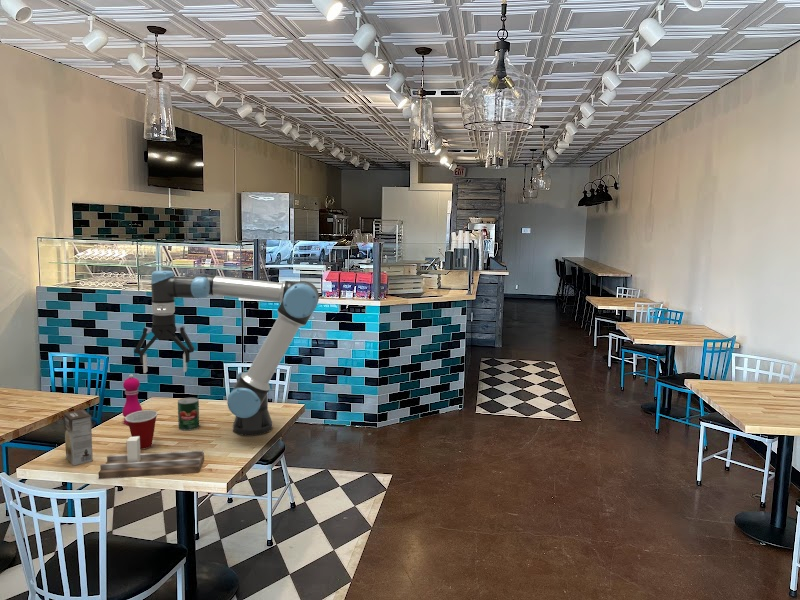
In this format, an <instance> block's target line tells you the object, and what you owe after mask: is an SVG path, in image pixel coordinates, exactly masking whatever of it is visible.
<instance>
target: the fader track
mask: <svg viewBox="0 0 800 600" xmlns="http://www.w3.org/2000/svg"><path fill="white" fill-rule="evenodd" d="M204 453H205V452H204V450H189V451H171V452H170V451H169V452H153V453H150V452H149V453H140V458H141V460H140V461H139V462H130V463H128V462H127V454H115V455H114V454H113V455H107V457H106V462H105V463H101V464H100V465H99V467H100V470H99V472H98V479H100V480H101V479H111V478H112V479H113V478H130V477H132V478H134V477H147V476H160V475H162V476H163V475H179V474H180V475H181V474H194V473H200V470H201V468H202V465H203V462H204V459H205V454H204Z"/></svg>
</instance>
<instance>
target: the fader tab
mask: <svg viewBox="0 0 800 600" xmlns="http://www.w3.org/2000/svg"><path fill="white" fill-rule="evenodd" d="M140 454H141V449H140V436H136V437H132V436H130V437H128V438H127V440H126V455H127V462H128V463H130V462H139V461H140V460H141V458H140Z"/></svg>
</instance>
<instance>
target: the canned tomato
mask: <svg viewBox="0 0 800 600" xmlns="http://www.w3.org/2000/svg"><path fill="white" fill-rule="evenodd" d="M199 401H200V400H199V398H197V397H184V398H180V399H179V400H177V415H178V416H177V420H178V430H180V431H184V432H185V431H193V430H197V429H199V428H200V402H199Z"/></svg>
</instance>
